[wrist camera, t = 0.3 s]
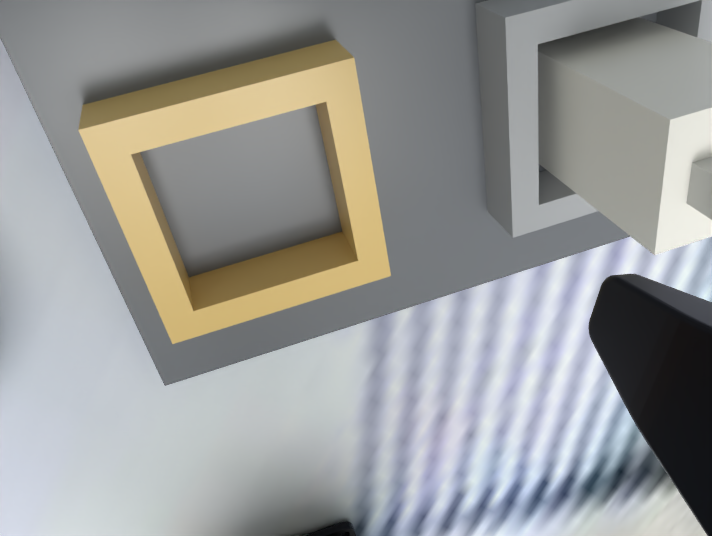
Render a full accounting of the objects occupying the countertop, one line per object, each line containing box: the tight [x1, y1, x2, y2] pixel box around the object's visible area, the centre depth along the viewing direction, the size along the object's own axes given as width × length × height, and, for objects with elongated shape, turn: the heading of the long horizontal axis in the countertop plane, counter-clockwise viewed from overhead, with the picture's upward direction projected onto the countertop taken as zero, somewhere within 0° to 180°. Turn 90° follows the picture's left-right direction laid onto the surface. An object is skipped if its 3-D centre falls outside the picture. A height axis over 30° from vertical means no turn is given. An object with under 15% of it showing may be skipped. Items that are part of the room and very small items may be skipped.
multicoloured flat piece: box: [0, 0, 712, 386], centre depth 22 cm, size 14×22×3 cm, turn 100°
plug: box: [538, 17, 712, 255], centre depth 20 cm, size 4×4×8 cm
